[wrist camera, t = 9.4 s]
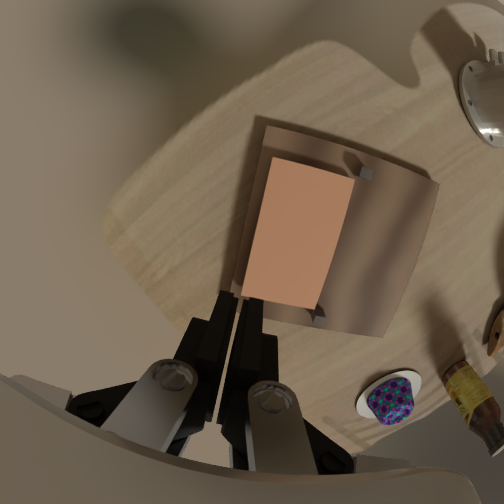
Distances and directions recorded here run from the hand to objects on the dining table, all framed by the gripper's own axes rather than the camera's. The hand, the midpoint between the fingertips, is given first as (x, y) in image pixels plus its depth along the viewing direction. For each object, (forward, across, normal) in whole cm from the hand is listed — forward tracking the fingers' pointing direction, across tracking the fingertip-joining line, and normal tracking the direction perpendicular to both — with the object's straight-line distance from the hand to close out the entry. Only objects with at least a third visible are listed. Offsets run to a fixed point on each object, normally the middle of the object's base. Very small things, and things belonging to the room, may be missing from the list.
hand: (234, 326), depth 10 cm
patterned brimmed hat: (+20, -28, +22) cm, 41 cm away
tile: (+16, -4, 0) cm, 17 cm away
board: (+19, -9, 0) cm, 21 cm away
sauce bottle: (+19, -41, +17) cm, 48 cm away
